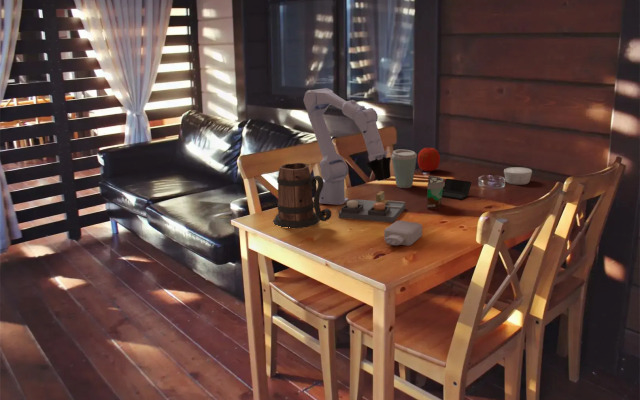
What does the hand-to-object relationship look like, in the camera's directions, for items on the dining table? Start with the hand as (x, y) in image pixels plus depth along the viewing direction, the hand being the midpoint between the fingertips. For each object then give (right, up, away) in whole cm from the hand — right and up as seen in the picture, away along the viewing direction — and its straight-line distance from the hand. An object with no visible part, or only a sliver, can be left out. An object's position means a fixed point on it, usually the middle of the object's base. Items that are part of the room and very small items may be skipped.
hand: (384, 179), depth 207 cm
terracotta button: (-2, -11, 0) cm, 11 cm away
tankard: (-29, -15, 0) cm, 32 cm away
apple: (+27, +6, +64) cm, 70 cm away
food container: (+21, -10, +13) cm, 26 cm away
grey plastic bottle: (+2, -21, -22) cm, 31 cm away
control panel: (-4, -12, +7) cm, 14 cm away
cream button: (-11, -10, +4) cm, 15 cm away
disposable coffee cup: (+13, -2, +40) cm, 42 cm away
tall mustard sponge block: (0, -9, +10) cm, 13 cm away
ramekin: (+61, 0, +41) cm, 73 cm away
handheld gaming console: (+30, -6, +25) cm, 40 cm away
